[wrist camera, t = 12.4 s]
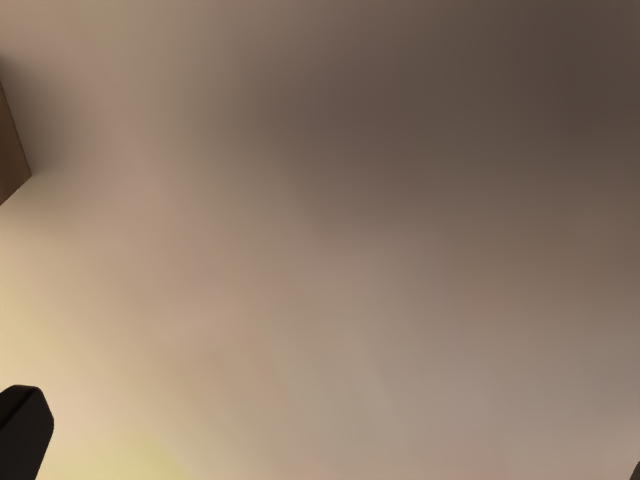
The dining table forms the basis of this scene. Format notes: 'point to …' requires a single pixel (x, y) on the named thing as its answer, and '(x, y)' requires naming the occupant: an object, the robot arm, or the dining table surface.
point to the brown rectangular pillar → (10, 155)
